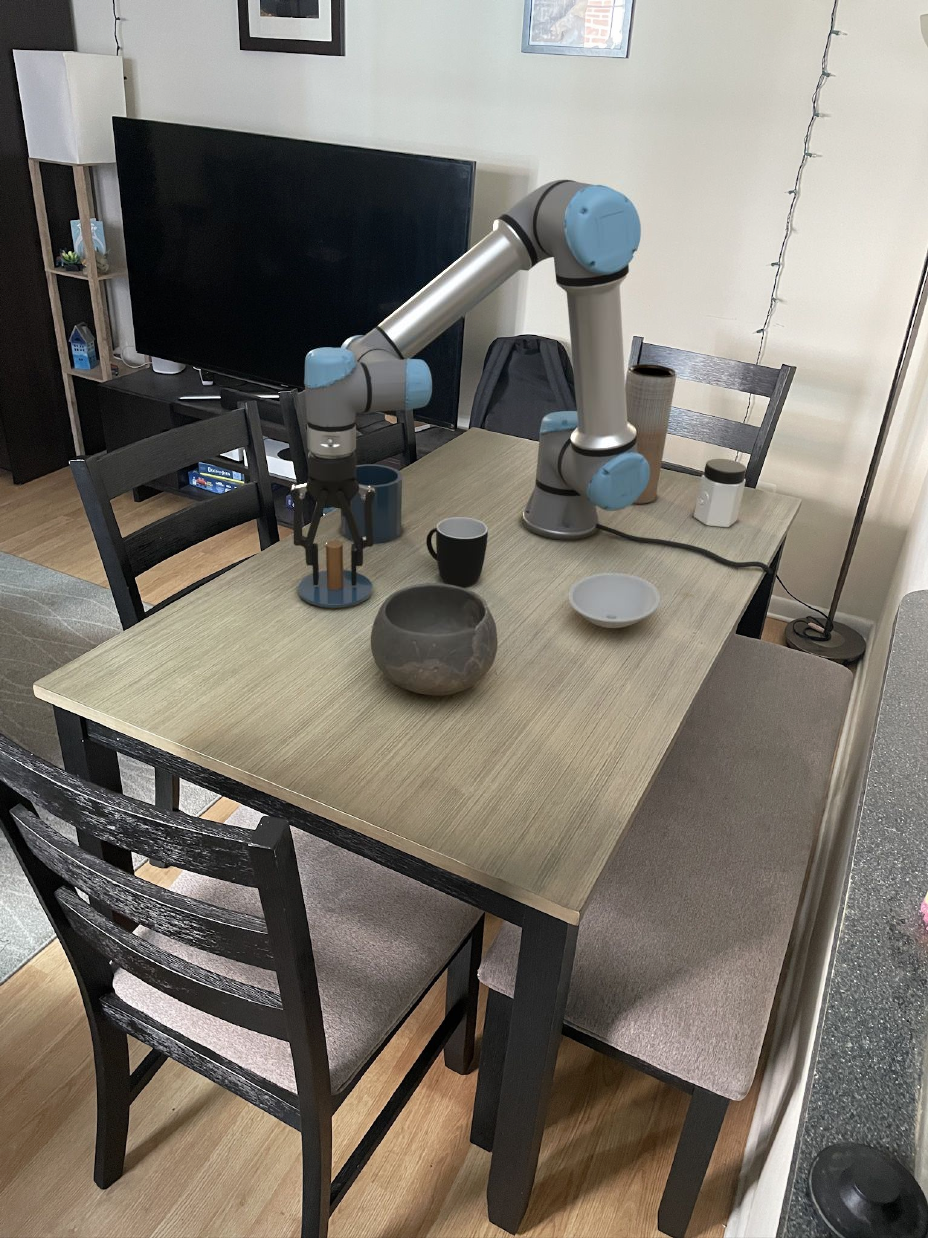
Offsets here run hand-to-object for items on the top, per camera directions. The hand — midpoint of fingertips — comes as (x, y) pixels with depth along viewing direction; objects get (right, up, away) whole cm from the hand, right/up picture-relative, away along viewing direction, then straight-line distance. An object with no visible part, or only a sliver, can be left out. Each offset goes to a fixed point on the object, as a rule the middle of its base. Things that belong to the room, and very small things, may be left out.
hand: (335, 581), depth 151 cm
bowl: (+17, -16, -21) cm, 31 cm away
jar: (+75, +15, +37) cm, 85 cm away
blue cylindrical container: (+4, +11, +23) cm, 26 cm away
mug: (+20, +1, +8) cm, 22 cm away
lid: (0, -1, +1) cm, 2 cm away
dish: (+46, -7, -3) cm, 47 cm away
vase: (+59, +21, +46) cm, 78 cm away
